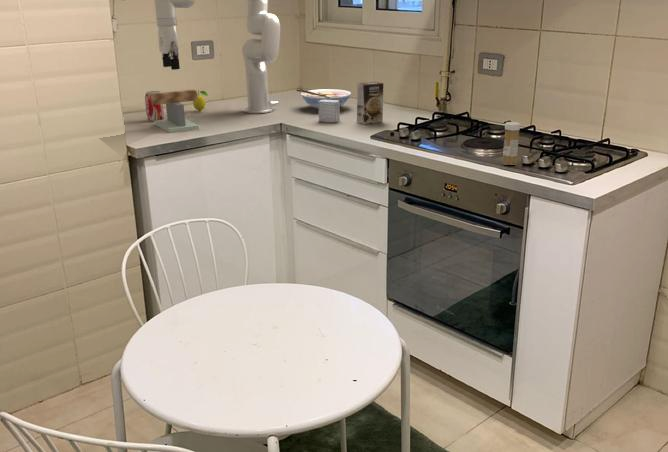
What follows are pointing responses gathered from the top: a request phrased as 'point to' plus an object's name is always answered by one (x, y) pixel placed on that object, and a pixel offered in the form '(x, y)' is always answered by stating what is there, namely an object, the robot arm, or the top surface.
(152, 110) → the soda can
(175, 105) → the stand
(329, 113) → the medicine box
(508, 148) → the sprinkles bottle
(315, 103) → the ramen bowl
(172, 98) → the walnut bar
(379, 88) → the coffee box
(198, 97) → the lemon
